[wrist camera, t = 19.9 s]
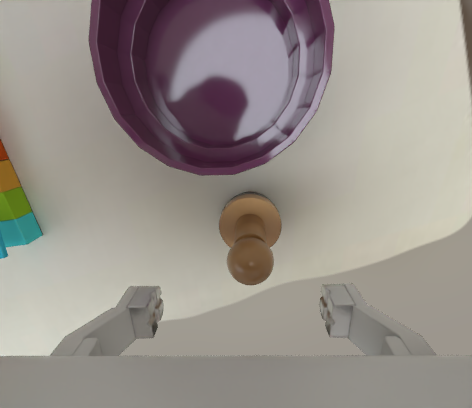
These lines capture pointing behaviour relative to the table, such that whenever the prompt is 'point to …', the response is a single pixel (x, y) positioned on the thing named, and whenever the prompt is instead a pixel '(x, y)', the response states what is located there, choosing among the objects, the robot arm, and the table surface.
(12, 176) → the chart
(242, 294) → the table surface
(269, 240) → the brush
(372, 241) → the table surface
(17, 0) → the table surface
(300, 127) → the bowl
